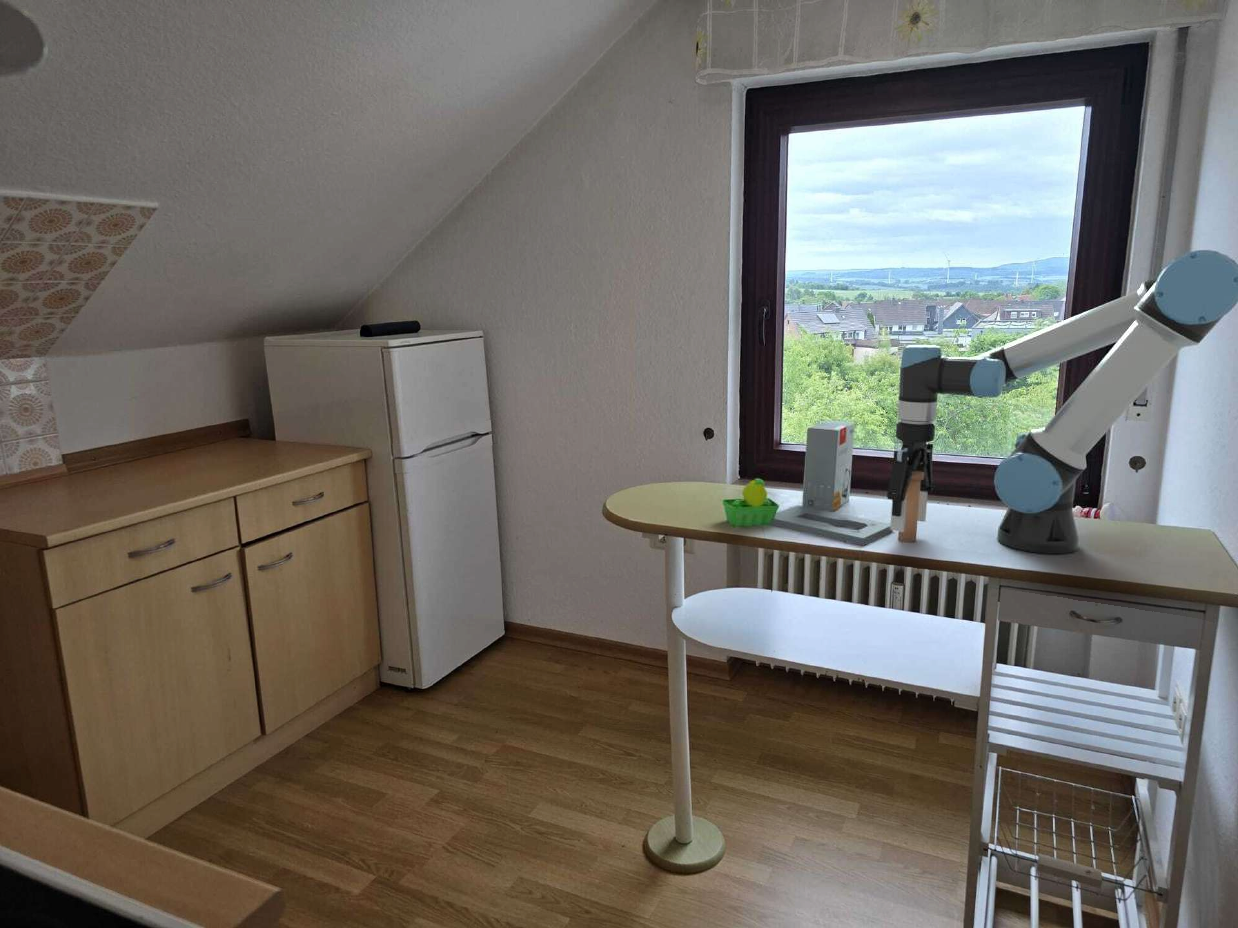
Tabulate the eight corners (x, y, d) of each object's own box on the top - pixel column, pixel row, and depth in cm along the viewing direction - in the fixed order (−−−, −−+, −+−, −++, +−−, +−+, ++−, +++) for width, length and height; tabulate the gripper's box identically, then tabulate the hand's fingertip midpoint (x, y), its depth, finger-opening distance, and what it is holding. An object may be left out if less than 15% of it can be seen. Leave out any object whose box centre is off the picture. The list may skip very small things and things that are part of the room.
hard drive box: (832, 513, 198) (837, 430, 194) (801, 509, 202) (805, 427, 198) (850, 499, 211) (855, 421, 207) (820, 495, 215) (824, 419, 211)
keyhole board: (893, 530, 184) (893, 524, 184) (862, 545, 174) (863, 538, 174) (797, 511, 200) (797, 505, 200) (764, 523, 190) (765, 516, 190)
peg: (922, 539, 178) (928, 472, 175) (913, 544, 175) (918, 475, 172) (901, 534, 181) (906, 468, 178) (891, 539, 178) (896, 472, 175)
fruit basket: (766, 518, 196) (768, 470, 194) (781, 528, 188) (784, 479, 185) (720, 520, 194) (721, 473, 191) (733, 531, 185) (735, 481, 183)
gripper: (921, 413, 183) (913, 511, 188) (873, 425, 167) (866, 532, 172) (955, 416, 178) (946, 518, 183) (910, 429, 162) (901, 540, 167)
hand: (908, 525), depth 177 cm, fingers open, 10 cm apart
